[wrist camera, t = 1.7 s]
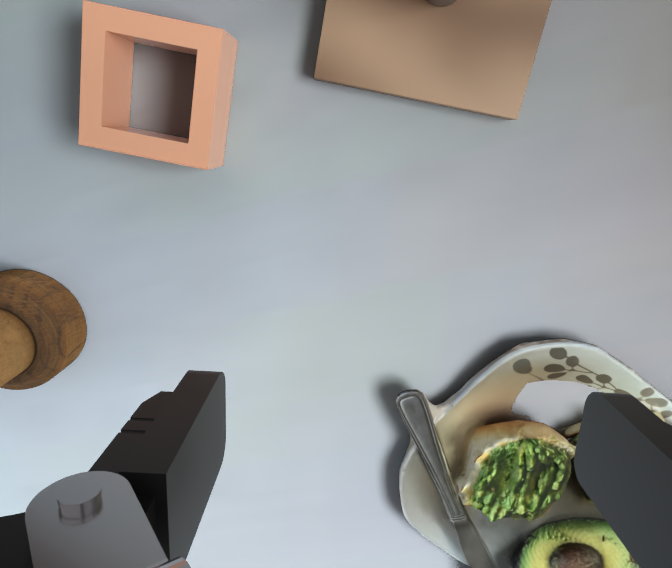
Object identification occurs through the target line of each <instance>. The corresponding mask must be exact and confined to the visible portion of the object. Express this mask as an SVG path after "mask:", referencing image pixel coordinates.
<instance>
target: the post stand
mask: <svg viewBox="0 0 672 568" xmlns="http://www.w3.org/2000/svg"><path fill="white" fill-rule="evenodd" d="M551 1H552V0H327V1H326V7H325V13H324V19H323V25H322V31H321V38H320V44H319V50H318V56H317V62H316V68H315V74H314V79H315V80H319V81H324V82H329V83H334V84H339V85H344V86H348V87H353V88H358V89H363V90H368V91H373V92H378V93H382V94H387V95H392V96H397V97H402V98H407V99H412V100H416V101H421V102H426V103H431V104H436V105H441V106H446V107H451V108H455V109H460V110H465V111H470V112H475V113H480V114H485V115H489V116H494V117H499V118H504V119H509V120H516V119H517V118H518V115H519V111H520V108H521V104H522V101H523V97H524V94H525V91H526V87H527V84H528V80H529V77H530V73H531V70H532V66H533V63H534V59H535V56H536V53H537V49H538V46H539V42H540V39H541V35H542V32H543V28H544V25H545V22H546V18H547V15H548V11H549V8H550V4H551Z"/></svg>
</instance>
